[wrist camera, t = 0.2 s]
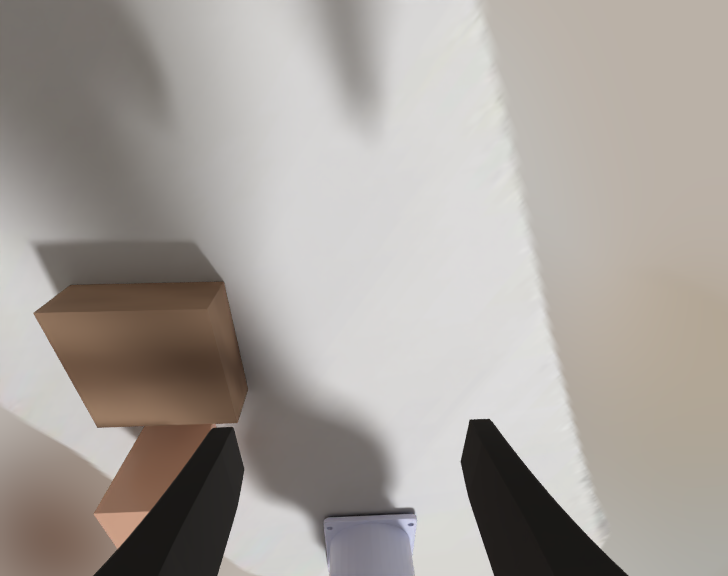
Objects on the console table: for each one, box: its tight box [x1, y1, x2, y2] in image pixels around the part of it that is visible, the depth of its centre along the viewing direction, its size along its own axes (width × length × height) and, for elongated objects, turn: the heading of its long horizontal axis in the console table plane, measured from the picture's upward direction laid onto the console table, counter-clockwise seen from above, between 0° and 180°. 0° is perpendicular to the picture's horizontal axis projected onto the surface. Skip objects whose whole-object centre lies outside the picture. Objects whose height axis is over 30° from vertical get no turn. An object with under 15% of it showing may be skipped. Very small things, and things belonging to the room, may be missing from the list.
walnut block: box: [34, 282, 248, 428], centre depth 20 cm, size 8×8×3 cm
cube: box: [94, 424, 216, 549], centre depth 23 cm, size 4×4×6 cm
